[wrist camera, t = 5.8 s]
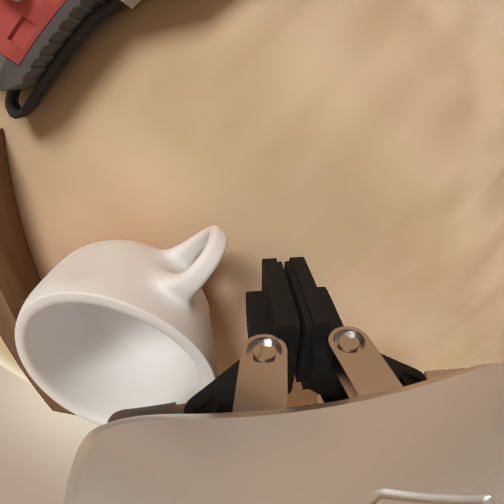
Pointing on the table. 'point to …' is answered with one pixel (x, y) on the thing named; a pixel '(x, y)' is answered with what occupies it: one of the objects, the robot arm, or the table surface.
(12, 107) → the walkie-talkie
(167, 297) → the teacup
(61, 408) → the stop bar
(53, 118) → the table surface
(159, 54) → the table surface
